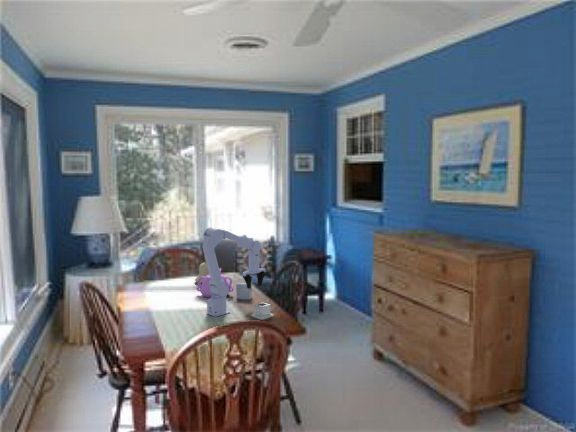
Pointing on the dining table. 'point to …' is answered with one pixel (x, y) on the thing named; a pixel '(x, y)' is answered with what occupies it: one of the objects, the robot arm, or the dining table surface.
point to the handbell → (203, 271)
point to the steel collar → (262, 309)
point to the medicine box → (243, 291)
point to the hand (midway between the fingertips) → (254, 286)
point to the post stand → (263, 316)
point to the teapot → (205, 285)
